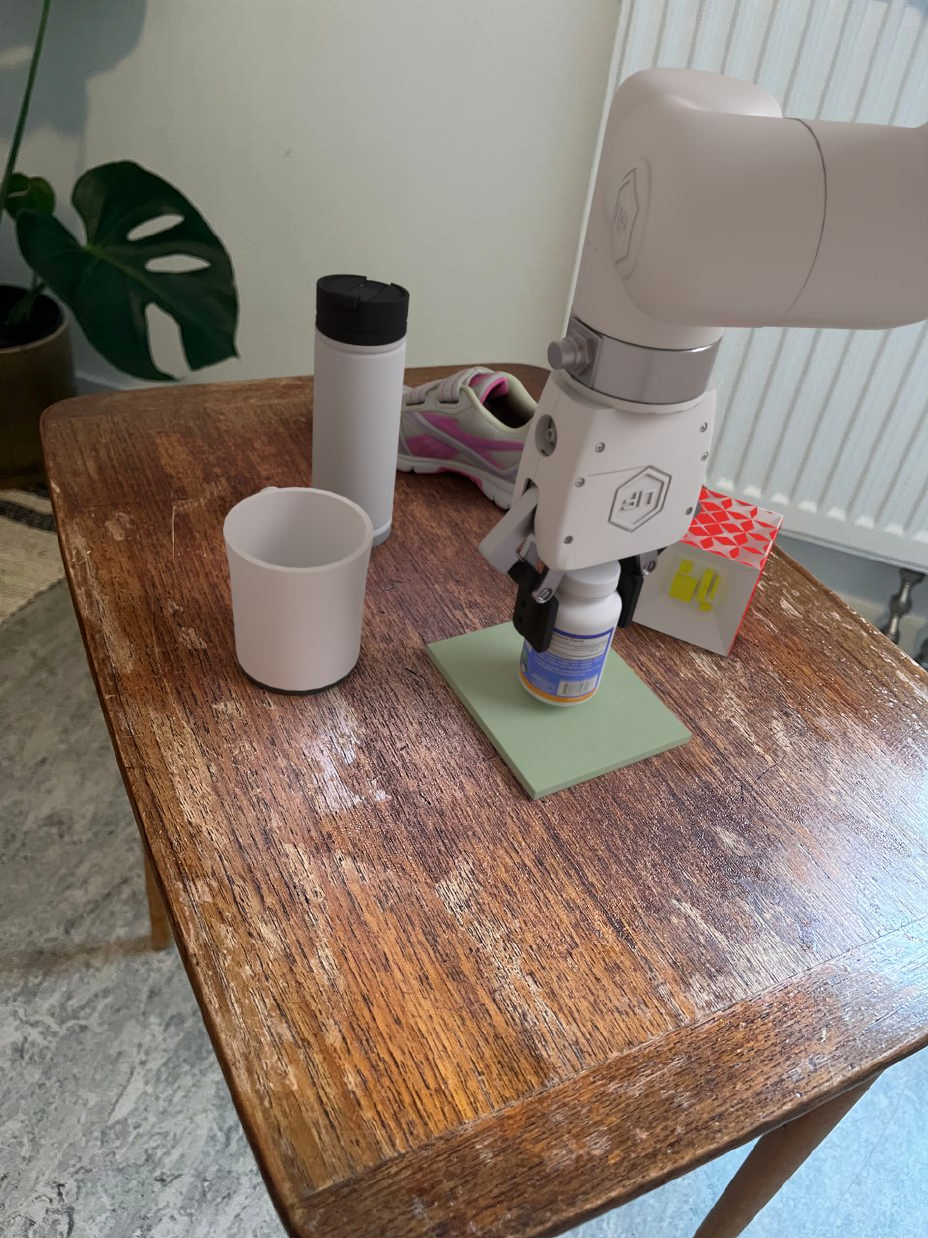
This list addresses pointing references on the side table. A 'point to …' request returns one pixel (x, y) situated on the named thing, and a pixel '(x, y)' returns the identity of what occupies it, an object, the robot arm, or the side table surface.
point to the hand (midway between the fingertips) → (571, 623)
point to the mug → (297, 586)
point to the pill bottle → (575, 638)
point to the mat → (554, 713)
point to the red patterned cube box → (709, 573)
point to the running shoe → (467, 429)
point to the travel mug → (359, 392)
